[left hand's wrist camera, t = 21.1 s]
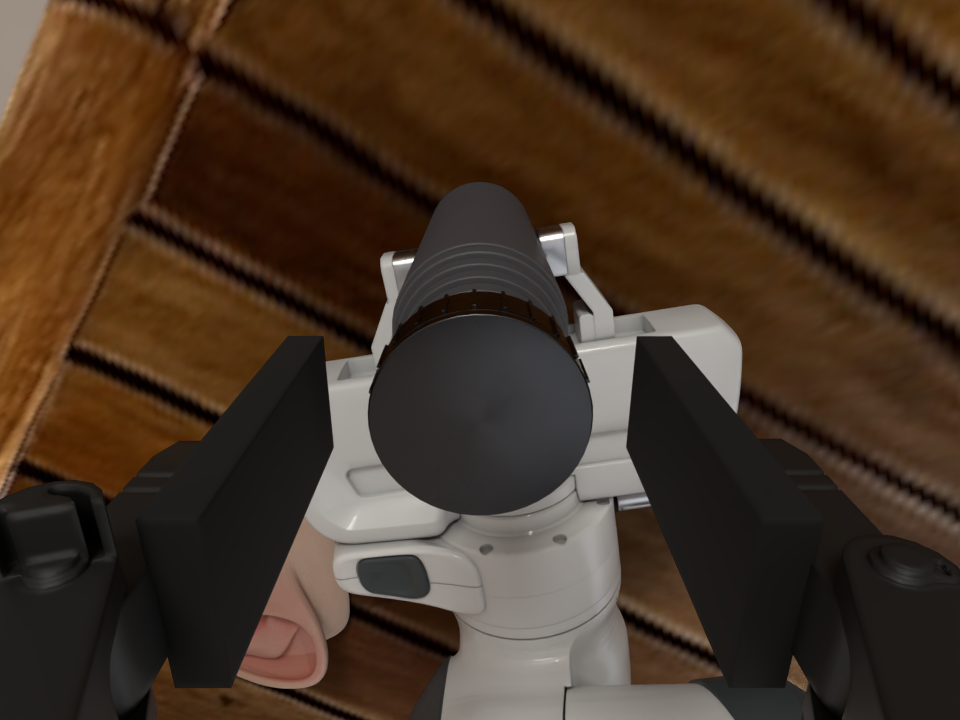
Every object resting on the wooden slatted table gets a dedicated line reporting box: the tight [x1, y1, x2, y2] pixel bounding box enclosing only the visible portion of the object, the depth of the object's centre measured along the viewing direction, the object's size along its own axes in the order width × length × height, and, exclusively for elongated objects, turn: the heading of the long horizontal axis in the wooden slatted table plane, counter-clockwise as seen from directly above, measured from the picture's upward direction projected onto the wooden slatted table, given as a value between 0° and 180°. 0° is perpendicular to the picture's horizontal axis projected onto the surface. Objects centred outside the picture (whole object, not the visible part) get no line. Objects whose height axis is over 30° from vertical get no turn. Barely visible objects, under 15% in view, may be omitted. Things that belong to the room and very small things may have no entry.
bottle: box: [392, 182, 569, 338], centre depth 23 cm, size 5×5×20 cm
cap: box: [368, 289, 593, 516], centre depth 14 cm, size 5×5×2 cm
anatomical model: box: [236, 517, 350, 689], centre depth 37 cm, size 13×4×12 cm
